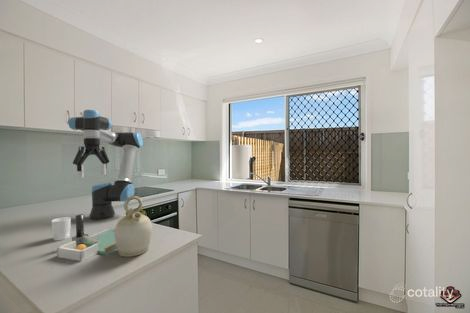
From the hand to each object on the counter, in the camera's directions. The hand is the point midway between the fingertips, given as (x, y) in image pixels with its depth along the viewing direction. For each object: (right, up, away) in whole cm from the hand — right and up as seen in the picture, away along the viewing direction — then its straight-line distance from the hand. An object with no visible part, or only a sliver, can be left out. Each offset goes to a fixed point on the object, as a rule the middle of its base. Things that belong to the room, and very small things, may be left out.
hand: (92, 176), depth 120 cm
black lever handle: (+9, -30, -18) cm, 36 cm away
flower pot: (+20, -32, +10) cm, 38 cm away
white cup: (-11, -32, -7) cm, 35 cm away
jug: (+34, -32, -23) cm, 52 cm away
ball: (+12, -30, -25) cm, 41 cm away
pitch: (+15, -32, -12) cm, 37 cm away
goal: (+11, -32, -27) cm, 43 cm away
